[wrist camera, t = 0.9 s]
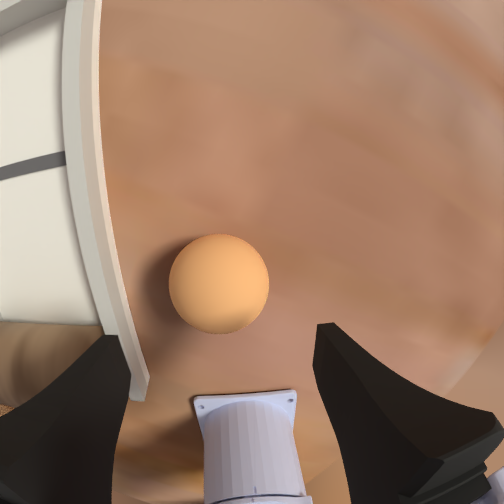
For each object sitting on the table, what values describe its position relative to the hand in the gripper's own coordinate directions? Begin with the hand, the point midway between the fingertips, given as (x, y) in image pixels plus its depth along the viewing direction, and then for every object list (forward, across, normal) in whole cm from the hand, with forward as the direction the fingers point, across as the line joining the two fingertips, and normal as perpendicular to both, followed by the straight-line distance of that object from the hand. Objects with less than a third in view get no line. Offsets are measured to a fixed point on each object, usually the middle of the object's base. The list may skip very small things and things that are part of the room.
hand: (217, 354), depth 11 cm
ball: (+5, 0, 0) cm, 5 cm away
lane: (+8, +12, -4) cm, 15 cm away
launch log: (+8, +12, +5) cm, 15 cm away
